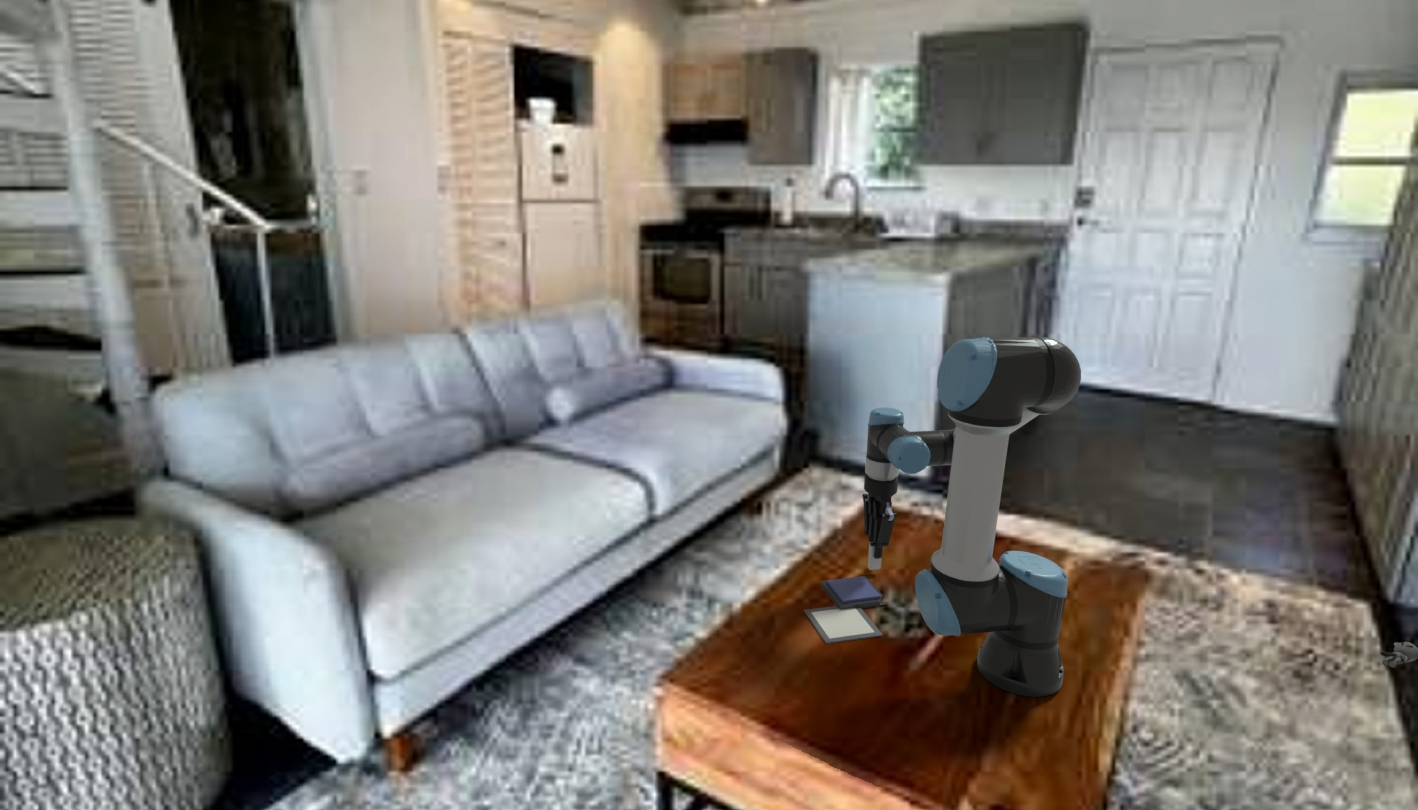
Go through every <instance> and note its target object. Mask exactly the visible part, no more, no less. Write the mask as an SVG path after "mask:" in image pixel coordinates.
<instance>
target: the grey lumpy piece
mask: <svg viewBox="0 0 1418 810" xmlns="http://www.w3.org/2000/svg"><path fill="white" fill-rule="evenodd" d="M1393 645H1394V648H1393V652H1388V651H1380V656H1383V657H1386V658H1384V659H1383V660H1382V661H1381V665H1383V666H1384V667H1390V668H1391V669H1396V667H1397V665H1402V664H1408V663H1412V662H1413V663H1414V664H1415V662H1417V661H1418V647H1417V646H1416V645H1415V644H1414V643H1411V642H1410V641H1402V642H1394V643H1393Z"/></svg>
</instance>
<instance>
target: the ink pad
mask: <svg viewBox="0 0 1418 810" xmlns="http://www.w3.org/2000/svg"><path fill="white" fill-rule="evenodd" d="M820 587H821V588H822V590H823V591H824V592H825V594H826V595H827V596H828V597H829V599H830V600H831V601H832V602H833V604H834V606H838V608H839V609H840V610H843V609H851V608H858V607H860V608H861V609H866V608H874V607H875V608H876V607H881V606H880V603H881V602H878V601H879V600H881V598H882V596H884V595H883V594H882V593H881V592H880V590H879V589H878V588H877V587H876V586H875V584H873V583H872V582H871V580H870V579H869V578H868V577H867V576H866V575H859V576H852V577H844V578H842V577H841V578H836V579H835V578H833V579H827V580H821V581H820Z"/></svg>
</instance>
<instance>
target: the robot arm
mask: <svg viewBox="0 0 1418 810" xmlns="http://www.w3.org/2000/svg"><path fill="white" fill-rule="evenodd" d="M936 378H937V379H936V388H937V389H938V392H937V395H938V399H939V401H940V403H941V404H942V406H943V407H944V408H945V409H947V416H948V417H949V419H950V420H951V421H952V422H953V423H954V424H955V427H953V428H952V429H940V430H938V429H937V430H921V431H918V430H917V431H910V430H907V429H906V428H905V427H904V424H905V420H904V419H905V416H904V413H903V411H901V410H900V409H897V408H894V407H877V408H874V409H872V410H871V411H870V413H869V418H868V424H867V441H866V442H867V443H866V455H865V463H864V465H865V466H864V467H865V468H864V473H865V475H864V480H863V483H864V484H863V489H864V491H865V492H866V493H863V494H862V502H863V517H864V520H863V521H864V535H865V536H867V540H868V544H869V545H868V554H867V556H868V557H867V568H868V569H869V571H876V570H881V569H882V560H883V559H882V557H883V549H884V548H883V547H889V544H890V541H891V536H892V534H893V529H894V528H893V527H894V523H895V521H896V520H897V518H898V514H897V512H893V511H892V506H893V503H892V497H893V496H894V495H896V494H897V493H898V489H899V488H898V487H899V486H898V485H899V475H900V471H901V472H902V473H904V474H908V475H915V474H918V473H920V472H921V471H924V470H925V469H926V468H927V467H938V466H950V472H949V481H948V490H947V499H946V506H945V515H944V523H943V531H942V539H941V540H942V541H941V548H939V549H938V550H936V551H934V552H933V553H932V555H931V557H930V559H931V560H930V566H929V567H930V568H929V569H925V568H924V569H923V570H921V571H919V572H918V573H917V574H916V576H915V582H914V590H915V591H914V592H915V597H916V603H917V605H918V608H919V612H920V614H921V616H922V619H923V621H924V623H925V624H926V625H927V627H928V628H929V629H930V630H931V631H932V632H933V633H934V634H936V635H938V636H942V637H943V636H955V637H960V636H961V635H972V634H982V633H983V634H984V633H987V635H986V638H985V640H984V642H983V643H982V644H981V645H980V647H979V648H978V653H977V659H976V666H977V669H978V671H979V673H980V674H981V675H982V677H984V678H985V679H986V680H987V681H988V682H990V683H991V684H993V686H995V687H997V688H999V689H1001V690H1003V691H1007V692H1009V693H1012V694H1015V695H1018V696H1024V697H1030V698H1031V697H1035V698H1036V697H1037V698H1038V697H1041V698H1042V697H1046V696H1047V697H1048V696H1050V695H1054V694H1056V693H1057V692H1058V691H1059V690H1061V687H1062V686H1063V681H1064V676H1065V675H1064V674H1065V672H1064V665H1063V660H1062V656H1061V651H1060V647H1059V640H1060V633H1061V629H1062V628H1061V627H1062V621H1063V616H1064V609H1065V603H1066V598H1067V597H1068V575H1067V573H1066V572H1065V571H1064V570H1065V569H1063V568H1062V567H1061V566H1059V564H1057V563H1056V562H1055V561H1053V560H1050V559H1049V558H1046V557H1044V556H1042V555H1039V554H1036V553H1032V552H1028V551H1022V550H1008V551H1007V550H1006V551H1005V552H1003V554H1001V556H1000V557H999V559H998V561H999V563H998V562H997V561H996V560H995V558H993V553H994V547H995V539H996V533H997V524H998V517H999V510H1000V503H1001V497H1002V489H1003V481H1004V477H1005V476H1004V475H1005V469H1006V460H1007V453H1008V447H1009V439H1010V435H1011V434H1012V433H1014V432H1015V431H1017V430H1018V429H1020V428H1022V427H1023V426H1024V425H1026V424H1028V423H1029V422H1030V421H1033V419H1035V418H1036V417H1038V416H1039V415H1043V416H1046V415H1050V414H1053V413H1054V412H1056V411H1057V410H1059V409H1061V408H1062V407H1064V406H1065V405H1067V404H1068V403H1069V402H1070V401H1071V400H1072V399H1073V398H1074V396H1075V395H1076V394H1077V392H1078V390H1079V388H1080V385H1081V380H1082V369H1081V364H1080V362H1079V360H1078V358H1077V356H1076V355H1075V353H1074V352H1073V350H1071V348H1069V347H1068V345H1066V344H1064V343H1063V342H1061V341H1058V340H1057V339H1054V338H1051V337H1046V336H1030V337H1029V336H1026V337H1025V336H1024V337H1022V336H1021V337H1020V336H1019V337H1016V336H1015V337H1014V336H1013V337H1009V336H1008V337H1005V336H1004V337H1001V336H1000V337H996V336H995V337H993V336H992V337H985V336H980V337H976V338H965V339H961V340H958V341H956V342H954V343H953V344H952V345H951V346H950V347H949V348H948V349H947V350H946V351H945V353H944V355H943V357H942V359H941V361H940V364H939V367H938V371H937V377H936Z"/></svg>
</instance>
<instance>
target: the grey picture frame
mask: <svg viewBox="0 0 1418 810" xmlns="http://www.w3.org/2000/svg"><path fill="white" fill-rule="evenodd" d="M803 612H804V614H805V616H806V617H807V618H808V620H809V621H810V622H811V625H813V627H814V628H815V630H816V631H817V633H818V635H820V638H821V639H822V640H823V642H824V643H825V644H826V645H831V644H836V643H842V642H843V643H844V642H850V641H858V640H865V639H871V638H878V637H883V635H884V634H883V633H882V631H881V630H880V629H879V628H878V627H877V626H876V624H875V623H874V622H873V621H872V620H871V618H870V617H869V616H868V614H867V613H866V612H865V611H864V610H863V608H860V607H858V608H851V609H843V610H840V609H839V608H838V606H836V605H833V606H826V607H817V608H811V609H808V608H807V609H804V610H803Z"/></svg>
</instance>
